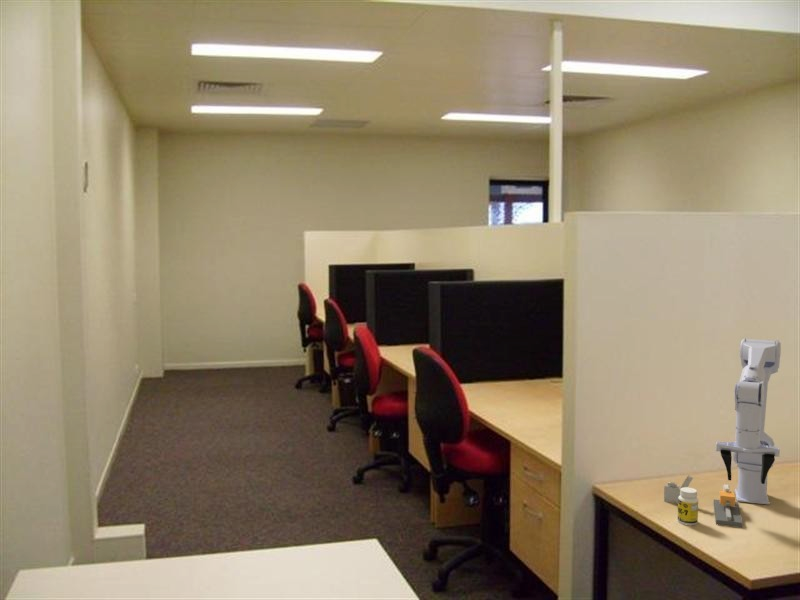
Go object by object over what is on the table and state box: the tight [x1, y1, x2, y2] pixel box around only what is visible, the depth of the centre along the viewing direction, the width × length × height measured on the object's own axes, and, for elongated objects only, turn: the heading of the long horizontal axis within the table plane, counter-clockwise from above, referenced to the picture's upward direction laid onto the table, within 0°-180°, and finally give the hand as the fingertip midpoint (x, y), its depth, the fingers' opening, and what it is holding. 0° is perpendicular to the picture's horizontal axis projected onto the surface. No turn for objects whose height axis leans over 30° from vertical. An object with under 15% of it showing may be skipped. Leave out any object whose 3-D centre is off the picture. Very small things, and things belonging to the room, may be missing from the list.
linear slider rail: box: [713, 484, 743, 528], centre depth 192 cm, size 15×6×6 cm, turn 159°
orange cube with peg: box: [718, 490, 736, 506], centre depth 194 cm, size 5×4×2 cm, turn 159°
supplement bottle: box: [677, 486, 699, 526], centre depth 188 cm, size 5×5×8 cm
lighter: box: [663, 474, 694, 505], centre depth 201 cm, size 7×2×8 cm, turn 55°
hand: (745, 480), depth 189 cm, fingers open, 7 cm apart
